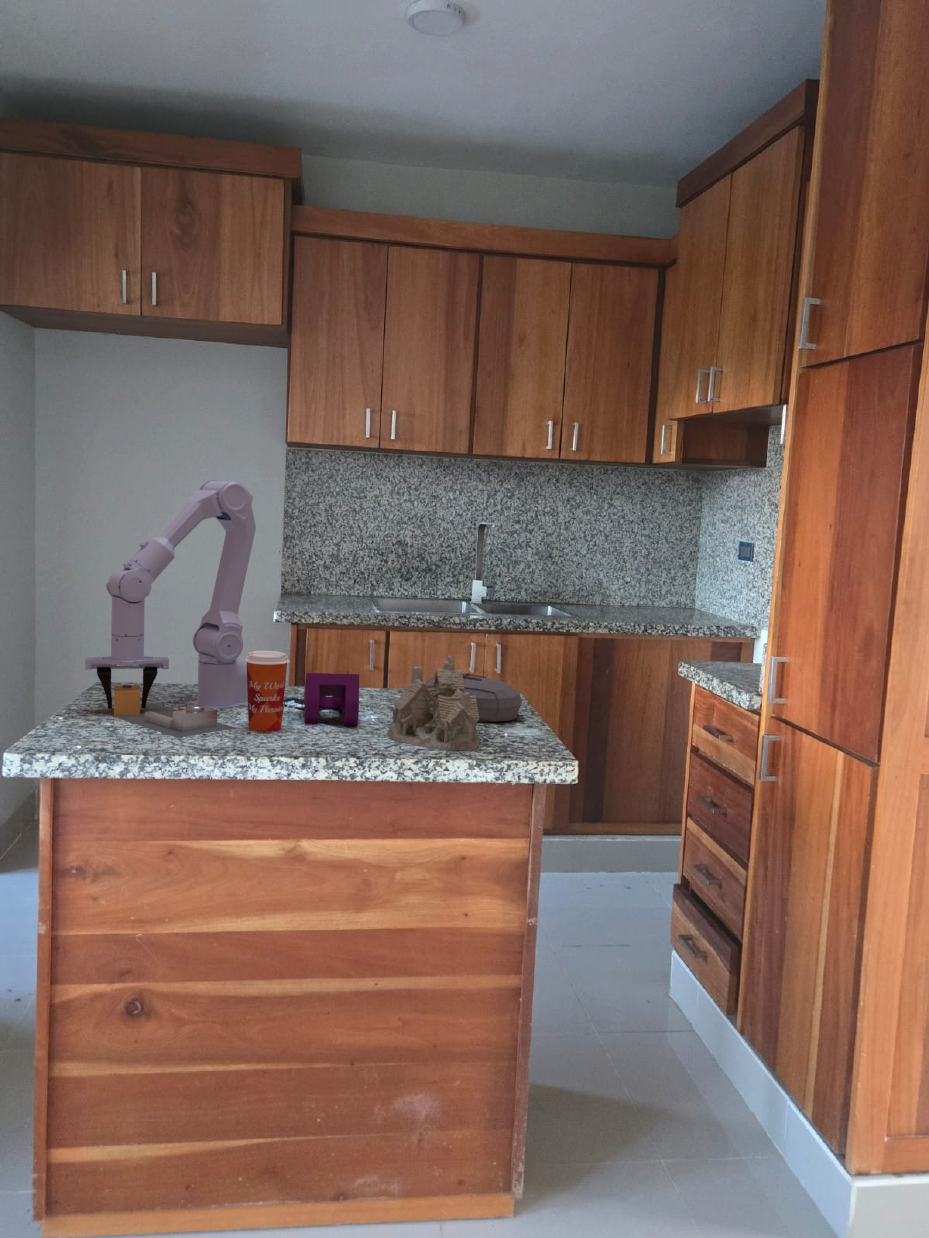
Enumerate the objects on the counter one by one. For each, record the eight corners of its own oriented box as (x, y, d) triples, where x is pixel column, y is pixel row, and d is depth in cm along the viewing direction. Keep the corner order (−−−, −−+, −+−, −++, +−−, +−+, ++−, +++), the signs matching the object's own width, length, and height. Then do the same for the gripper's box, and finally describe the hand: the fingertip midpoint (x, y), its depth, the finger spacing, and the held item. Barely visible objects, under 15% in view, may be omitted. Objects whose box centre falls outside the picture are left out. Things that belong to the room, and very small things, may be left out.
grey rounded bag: (412, 716, 197) (509, 728, 191) (414, 675, 196) (512, 685, 190) (439, 704, 211) (530, 714, 205) (441, 665, 210) (532, 674, 204)
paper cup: (244, 736, 173) (246, 656, 172) (241, 726, 181) (243, 649, 179) (289, 735, 175) (292, 657, 174) (285, 726, 183) (287, 650, 181)
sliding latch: (183, 715, 185) (184, 694, 184) (219, 725, 178) (220, 704, 177) (144, 720, 179) (145, 699, 178) (180, 732, 171) (180, 710, 171)
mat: (151, 705, 194) (151, 702, 194) (236, 731, 177) (236, 727, 177) (94, 713, 185) (94, 710, 185) (177, 740, 168) (177, 737, 168)
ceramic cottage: (386, 727, 185) (393, 648, 182) (474, 733, 187) (482, 655, 184) (387, 754, 170) (395, 668, 167) (483, 760, 171) (492, 675, 169)
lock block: (139, 708, 189) (139, 683, 188) (140, 714, 183) (140, 689, 183) (113, 708, 187) (114, 683, 187) (114, 715, 182) (114, 689, 181)
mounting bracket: (302, 741, 198) (304, 719, 180) (303, 698, 201) (305, 673, 183) (352, 741, 199) (358, 720, 182) (352, 699, 202) (359, 674, 185)
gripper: (85, 637, 177) (84, 712, 179) (170, 637, 182) (168, 711, 184) (86, 632, 184) (85, 704, 186) (168, 632, 189) (166, 703, 190)
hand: (126, 707), depth 185 cm, fingers open, 5 cm apart
